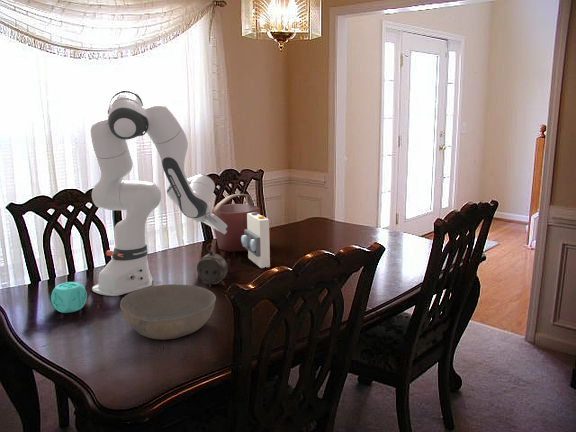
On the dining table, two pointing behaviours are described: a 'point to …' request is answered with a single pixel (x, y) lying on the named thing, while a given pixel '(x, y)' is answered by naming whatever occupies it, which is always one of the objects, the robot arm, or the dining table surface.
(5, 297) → the dining table surface
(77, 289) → the decorative dice
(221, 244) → the bucket
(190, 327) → the bowl
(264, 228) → the button panel
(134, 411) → the dining table surface
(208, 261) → the alarm clock
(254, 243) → the button lit
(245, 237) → the button unlit
